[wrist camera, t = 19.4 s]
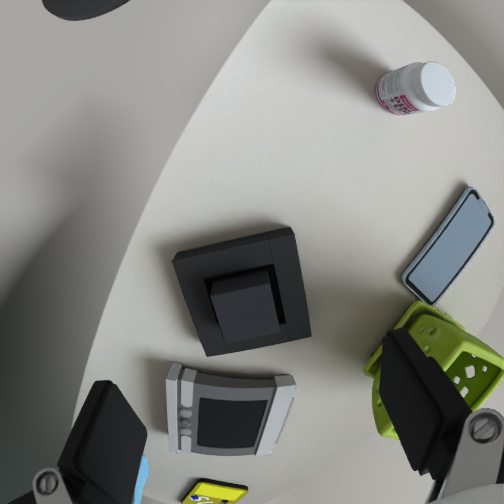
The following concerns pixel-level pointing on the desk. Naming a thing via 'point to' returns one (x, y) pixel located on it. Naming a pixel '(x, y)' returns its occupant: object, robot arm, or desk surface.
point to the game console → (214, 492)
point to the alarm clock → (225, 412)
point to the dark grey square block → (244, 305)
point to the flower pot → (441, 359)
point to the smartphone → (450, 248)
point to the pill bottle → (416, 88)
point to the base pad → (240, 260)
